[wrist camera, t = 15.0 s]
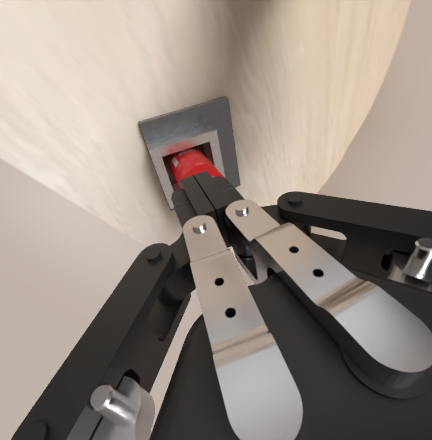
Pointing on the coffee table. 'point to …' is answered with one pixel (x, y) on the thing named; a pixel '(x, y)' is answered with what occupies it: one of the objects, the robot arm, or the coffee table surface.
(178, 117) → the jig
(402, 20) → the coffee table surface
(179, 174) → the beverage can
